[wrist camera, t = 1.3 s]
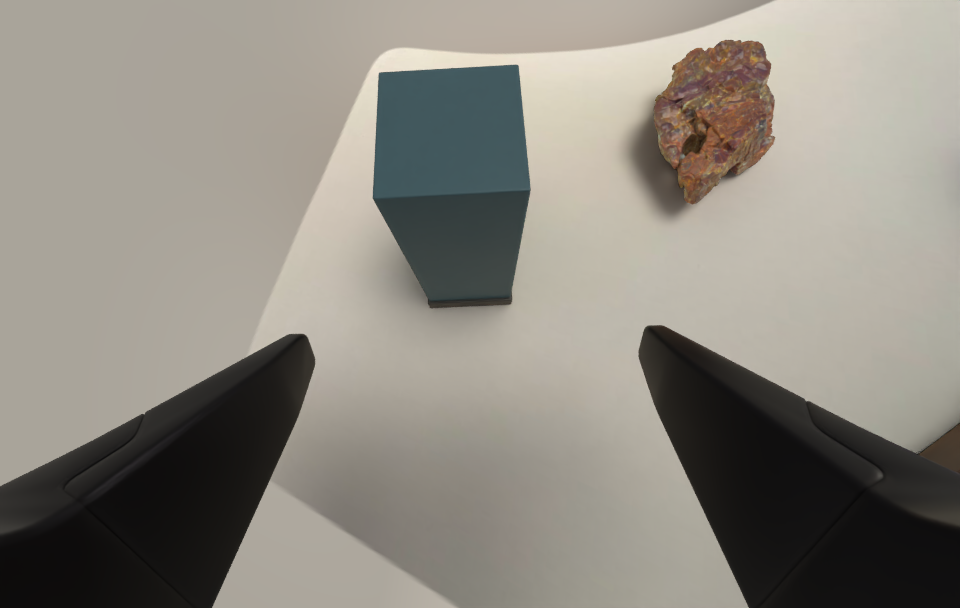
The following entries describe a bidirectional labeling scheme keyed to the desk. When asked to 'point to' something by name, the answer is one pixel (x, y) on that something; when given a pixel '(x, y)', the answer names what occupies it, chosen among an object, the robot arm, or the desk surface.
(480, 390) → the desk surface
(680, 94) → the mineral specimen
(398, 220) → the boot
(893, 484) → the robot arm
